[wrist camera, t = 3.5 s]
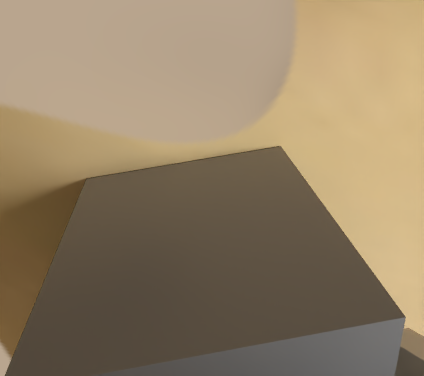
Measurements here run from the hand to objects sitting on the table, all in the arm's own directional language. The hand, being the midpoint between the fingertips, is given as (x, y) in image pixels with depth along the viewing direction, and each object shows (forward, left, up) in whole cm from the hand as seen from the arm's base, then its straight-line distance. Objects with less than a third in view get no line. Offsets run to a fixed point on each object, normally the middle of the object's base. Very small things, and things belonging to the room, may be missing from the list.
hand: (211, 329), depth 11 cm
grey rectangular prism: (0, 0, -4) cm, 4 cm away
